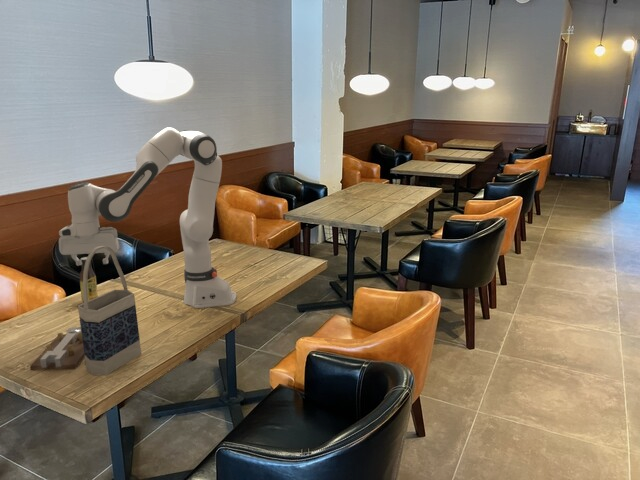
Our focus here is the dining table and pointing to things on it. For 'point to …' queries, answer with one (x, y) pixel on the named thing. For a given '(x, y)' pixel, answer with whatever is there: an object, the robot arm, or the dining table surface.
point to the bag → (108, 325)
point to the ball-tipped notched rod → (61, 349)
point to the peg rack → (73, 354)
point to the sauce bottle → (88, 281)
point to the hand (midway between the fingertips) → (92, 264)
